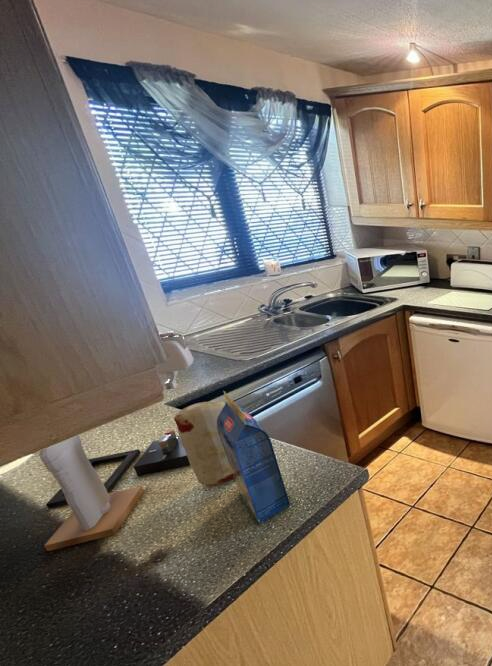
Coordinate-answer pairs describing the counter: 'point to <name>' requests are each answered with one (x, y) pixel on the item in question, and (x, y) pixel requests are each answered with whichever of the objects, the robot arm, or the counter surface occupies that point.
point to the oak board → (104, 527)
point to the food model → (204, 442)
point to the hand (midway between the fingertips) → (147, 391)
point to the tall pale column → (77, 481)
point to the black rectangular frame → (111, 482)
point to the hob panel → (161, 459)
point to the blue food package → (252, 461)
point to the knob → (168, 441)
